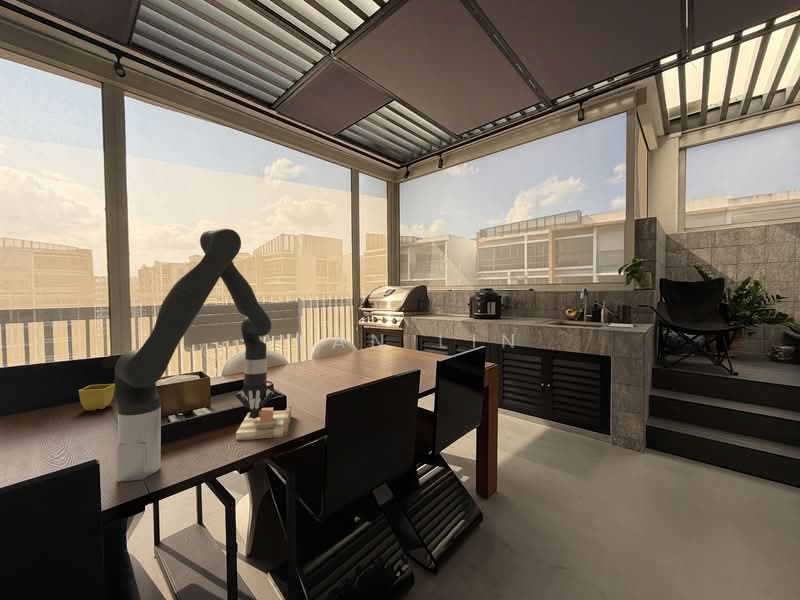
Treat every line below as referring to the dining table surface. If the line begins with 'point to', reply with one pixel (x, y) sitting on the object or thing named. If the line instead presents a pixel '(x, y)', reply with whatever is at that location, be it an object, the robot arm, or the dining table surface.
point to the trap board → (265, 426)
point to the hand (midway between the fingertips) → (254, 417)
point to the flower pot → (96, 396)
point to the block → (266, 415)
